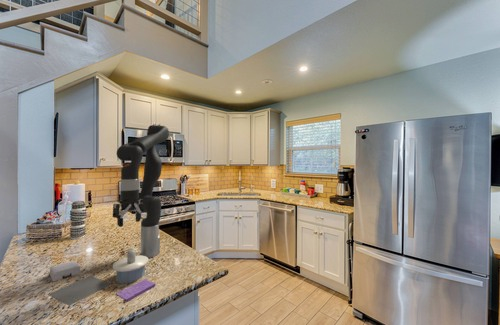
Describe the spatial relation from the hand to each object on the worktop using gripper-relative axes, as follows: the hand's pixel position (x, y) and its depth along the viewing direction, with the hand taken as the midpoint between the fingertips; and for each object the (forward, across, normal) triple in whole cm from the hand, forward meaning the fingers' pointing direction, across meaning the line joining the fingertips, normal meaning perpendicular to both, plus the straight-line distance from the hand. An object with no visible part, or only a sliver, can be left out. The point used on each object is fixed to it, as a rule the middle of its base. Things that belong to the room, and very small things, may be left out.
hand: (129, 223), depth 96 cm
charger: (+24, +11, -30) cm, 40 cm away
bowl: (+24, +1, +2) cm, 24 cm away
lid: (+18, +1, +2) cm, 18 cm away
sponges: (+25, +6, +13) cm, 29 cm away
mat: (+24, +16, -7) cm, 30 cm away
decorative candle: (+25, -20, -80) cm, 86 cm away
